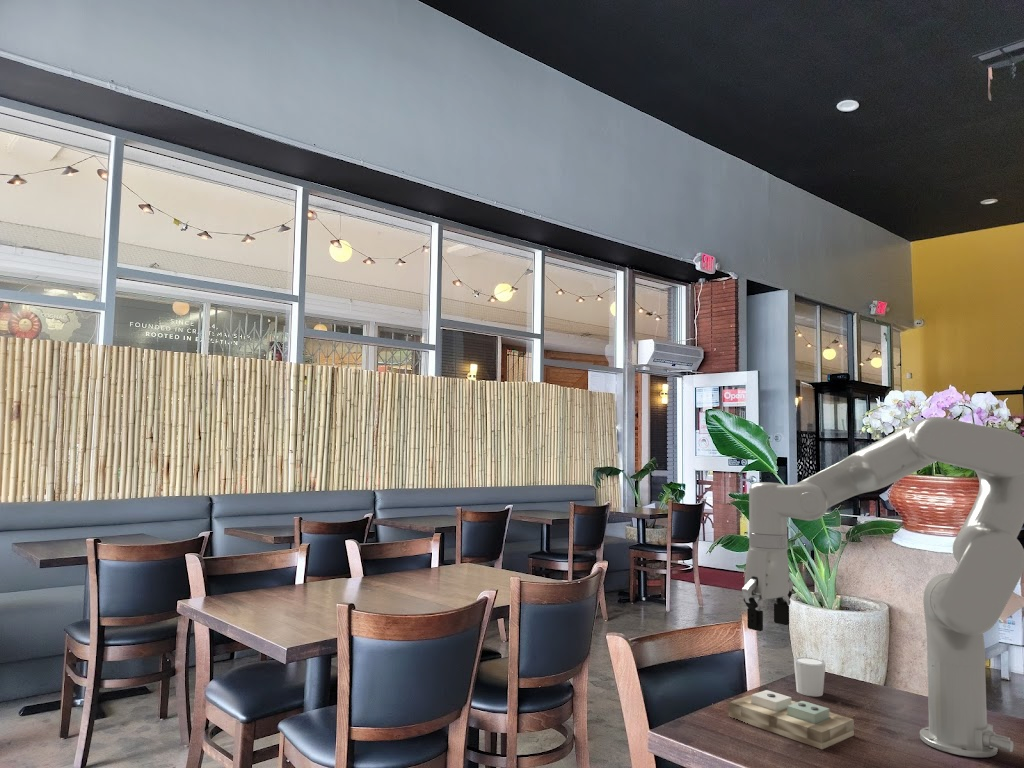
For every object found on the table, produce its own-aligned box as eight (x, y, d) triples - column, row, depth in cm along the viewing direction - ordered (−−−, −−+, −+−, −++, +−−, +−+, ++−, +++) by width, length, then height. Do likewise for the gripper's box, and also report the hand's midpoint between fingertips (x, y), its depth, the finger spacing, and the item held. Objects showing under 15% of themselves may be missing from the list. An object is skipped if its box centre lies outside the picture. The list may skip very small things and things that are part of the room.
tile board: (853, 735, 142) (853, 719, 142) (822, 749, 135) (822, 732, 135) (761, 705, 158) (761, 691, 158) (728, 717, 150) (728, 701, 150)
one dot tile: (791, 708, 149) (791, 696, 149) (776, 713, 145) (776, 701, 146) (766, 700, 153) (766, 688, 154) (751, 705, 150) (751, 693, 150)
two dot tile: (829, 720, 143) (829, 707, 143) (814, 726, 139) (814, 713, 139) (802, 711, 147) (802, 699, 147) (787, 717, 144) (787, 704, 144)
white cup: (829, 698, 164) (828, 666, 165) (796, 695, 165) (796, 663, 166) (822, 689, 171) (822, 658, 171) (791, 686, 172) (791, 655, 173)
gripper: (774, 538, 161) (775, 618, 159) (728, 542, 150) (728, 628, 148) (806, 542, 155) (807, 625, 153) (761, 546, 144) (761, 636, 142)
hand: (768, 626), depth 151 cm, fingers open, 9 cm apart
